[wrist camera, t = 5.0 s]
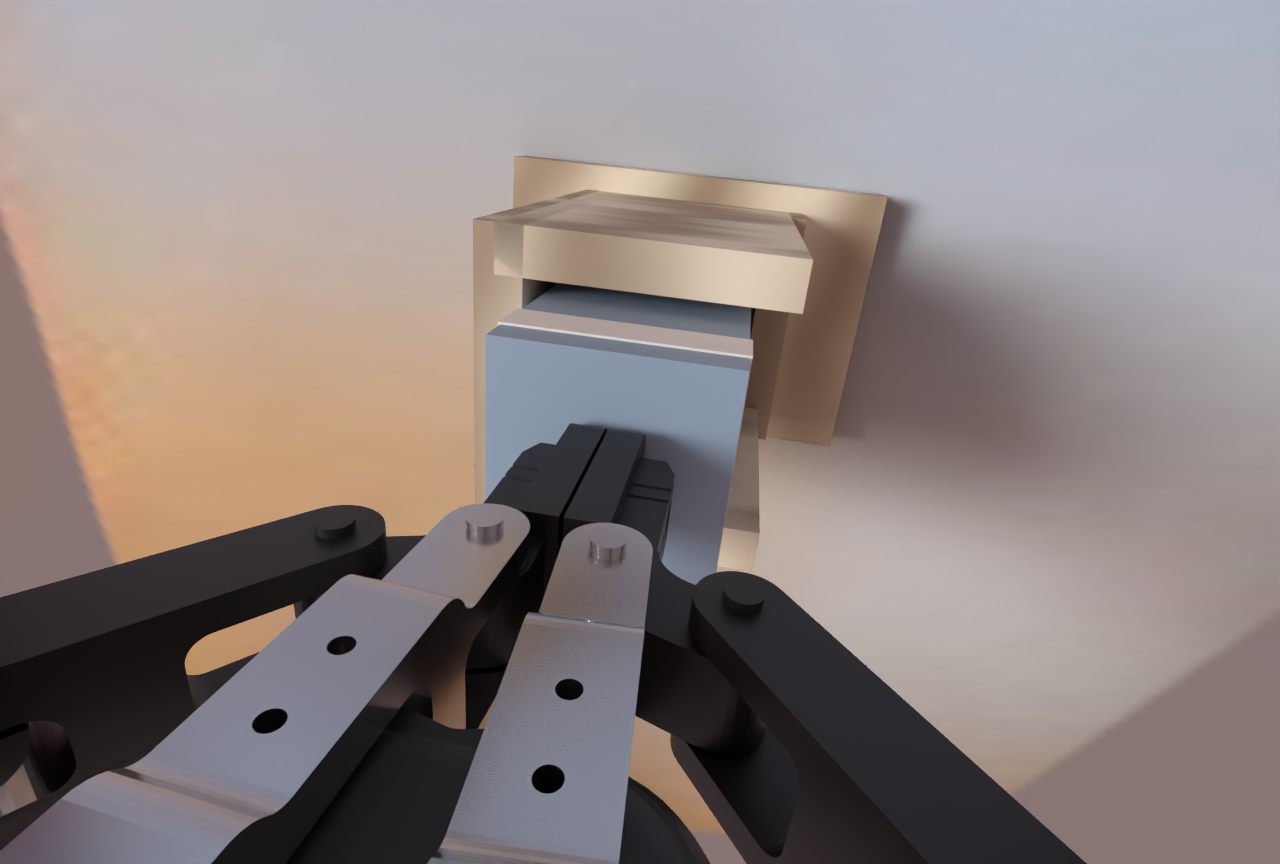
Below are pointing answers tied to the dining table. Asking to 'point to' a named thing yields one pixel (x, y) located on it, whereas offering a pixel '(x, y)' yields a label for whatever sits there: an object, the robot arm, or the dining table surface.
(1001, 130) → the dining table surface
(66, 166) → the dining table surface
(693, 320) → the block
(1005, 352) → the dining table surface
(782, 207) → the tan frame
